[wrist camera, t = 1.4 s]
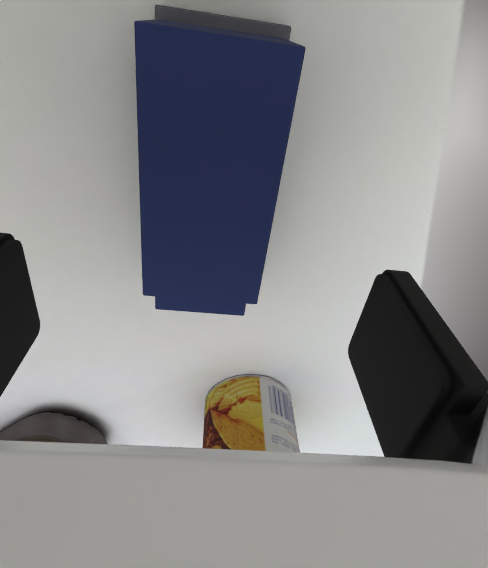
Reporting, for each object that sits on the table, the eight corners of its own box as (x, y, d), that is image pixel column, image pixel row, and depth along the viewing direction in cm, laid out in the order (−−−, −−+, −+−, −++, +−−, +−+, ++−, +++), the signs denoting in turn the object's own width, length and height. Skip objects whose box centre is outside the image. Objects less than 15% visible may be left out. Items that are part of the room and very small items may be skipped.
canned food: (187, 407, 34) (172, 561, 25) (244, 361, 31) (252, 517, 21) (250, 437, 38) (259, 585, 28) (308, 399, 34) (341, 550, 25)
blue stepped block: (159, 5, 17) (126, 0, 12) (287, 25, 18) (315, 29, 12) (159, 274, 26) (140, 347, 20) (245, 281, 26) (251, 354, 21)
